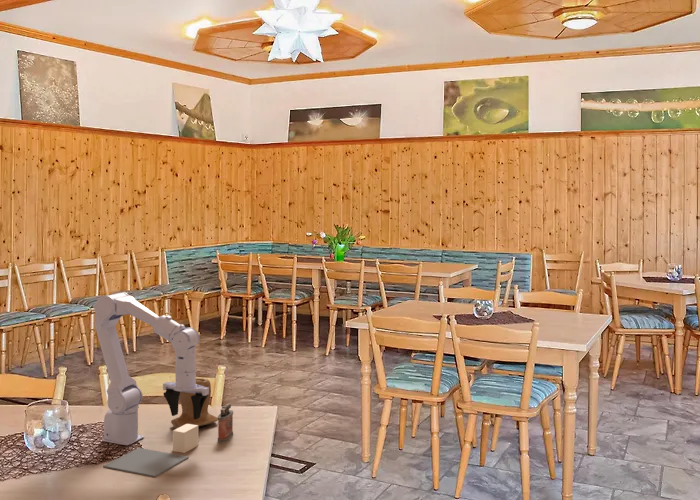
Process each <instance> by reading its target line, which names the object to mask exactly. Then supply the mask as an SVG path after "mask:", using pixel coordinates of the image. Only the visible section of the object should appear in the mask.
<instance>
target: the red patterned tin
mask: <svg viewBox="0 0 700 500" xmlns="http://www.w3.org/2000/svg"><path fill="white" fill-rule="evenodd" d="M231 408H232V404H231V403H227V404H225V405H222V406H221V409H220V413H219V414H218V415H217V418H218V421H217V422H218V423H217V425H218V426H217V431H218V432H217V433H218V434H217V442H218V443H227V442H228V441H229V440H231V439H232V438H233V437H234V431H233V422H234V419H233V418H234V417H233V415H234V410H231Z"/></svg>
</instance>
